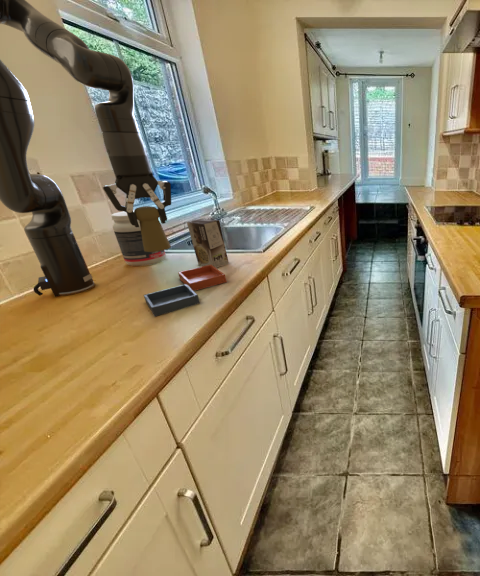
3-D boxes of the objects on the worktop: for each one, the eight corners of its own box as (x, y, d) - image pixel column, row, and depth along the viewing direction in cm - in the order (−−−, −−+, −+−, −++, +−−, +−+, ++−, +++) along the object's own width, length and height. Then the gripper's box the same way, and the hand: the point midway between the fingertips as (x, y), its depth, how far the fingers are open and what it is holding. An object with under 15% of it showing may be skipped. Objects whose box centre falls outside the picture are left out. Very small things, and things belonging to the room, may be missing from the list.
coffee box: (229, 263, 118) (220, 220, 111) (214, 269, 113) (204, 223, 106) (212, 260, 121) (202, 217, 115) (197, 265, 116) (185, 221, 109)
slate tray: (154, 316, 81) (151, 307, 80) (146, 303, 88) (143, 294, 87) (200, 303, 88) (197, 294, 87) (188, 291, 95) (186, 283, 94)
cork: (161, 251, 82) (148, 208, 77) (138, 251, 82) (123, 208, 78) (175, 245, 88) (164, 204, 83) (154, 245, 88) (141, 204, 83)
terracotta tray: (191, 291, 95) (189, 283, 94) (179, 279, 104) (177, 272, 103) (226, 282, 102) (225, 274, 101) (212, 271, 110) (211, 264, 109)
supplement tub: (163, 264, 117) (148, 214, 109) (121, 269, 112) (102, 217, 105) (170, 254, 128) (156, 208, 120) (131, 258, 123) (114, 211, 116)
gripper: (159, 153, 82) (177, 218, 89) (87, 154, 73) (113, 227, 80) (166, 153, 77) (185, 222, 84) (90, 155, 68) (118, 232, 75)
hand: (150, 224), depth 82 cm, fingers closed on cork, 5 cm apart
